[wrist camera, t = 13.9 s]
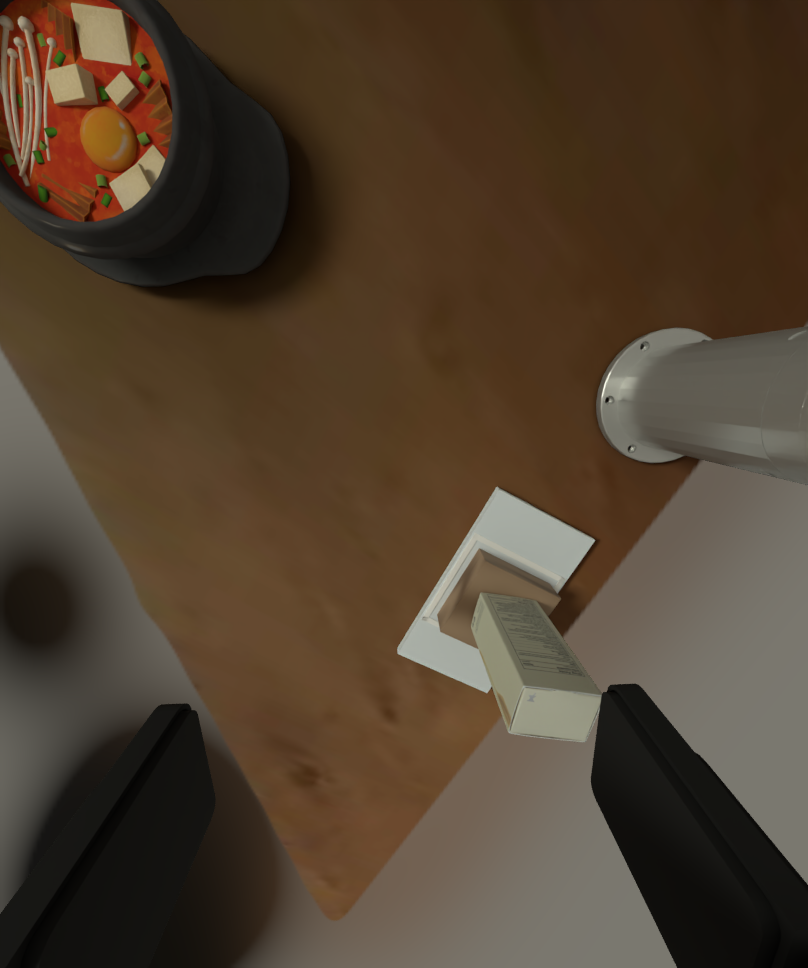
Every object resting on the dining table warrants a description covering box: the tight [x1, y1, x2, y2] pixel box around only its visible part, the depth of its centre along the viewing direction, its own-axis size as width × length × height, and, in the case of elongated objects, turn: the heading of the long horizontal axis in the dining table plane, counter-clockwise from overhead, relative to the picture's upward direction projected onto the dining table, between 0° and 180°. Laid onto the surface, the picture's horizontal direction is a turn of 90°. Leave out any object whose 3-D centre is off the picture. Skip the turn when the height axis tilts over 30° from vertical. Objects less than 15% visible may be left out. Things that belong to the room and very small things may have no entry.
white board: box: [397, 487, 595, 693], centre depth 41 cm, size 22×12×1 cm, turn 152°
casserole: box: [0, 0, 290, 287], centre depth 27 cm, size 25×19×8 cm
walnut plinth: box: [437, 548, 561, 649], centre depth 39 cm, size 9×9×3 cm
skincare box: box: [471, 592, 602, 742], centre depth 32 cm, size 6×4×12 cm
